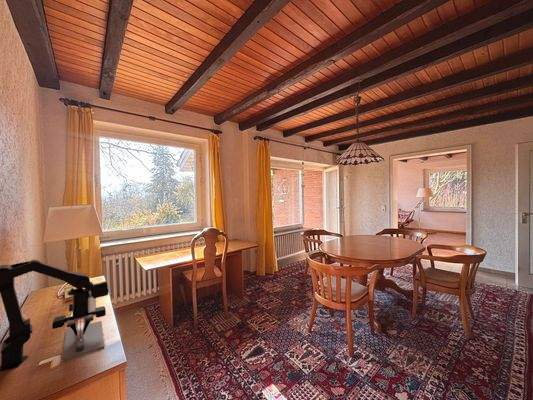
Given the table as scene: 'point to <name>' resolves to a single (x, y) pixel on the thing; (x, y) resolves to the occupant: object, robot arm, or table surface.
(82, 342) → the tongs fixed arm
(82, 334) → the tongs moving arm
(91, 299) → the jar
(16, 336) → the robot arm
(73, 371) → the table surface
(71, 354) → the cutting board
